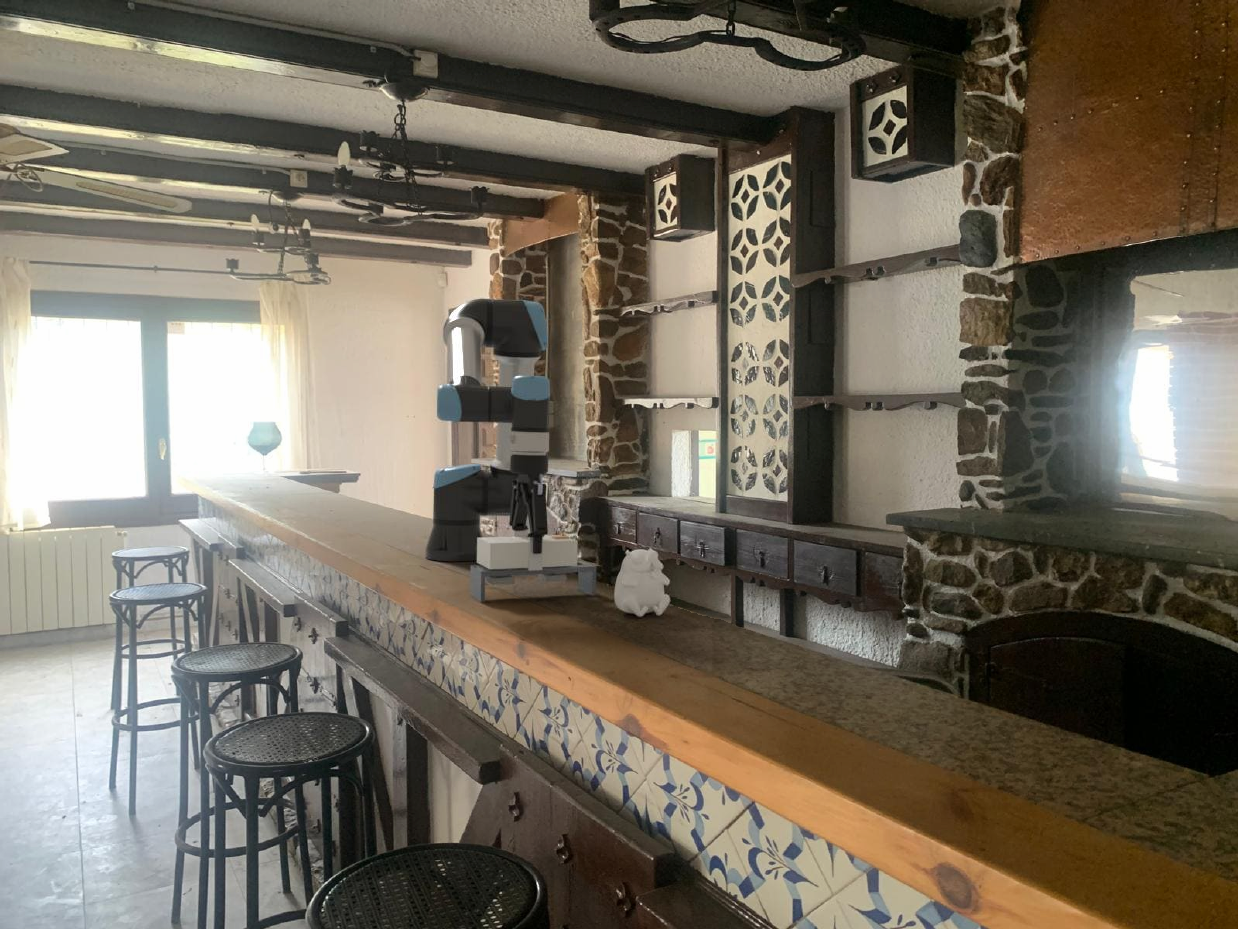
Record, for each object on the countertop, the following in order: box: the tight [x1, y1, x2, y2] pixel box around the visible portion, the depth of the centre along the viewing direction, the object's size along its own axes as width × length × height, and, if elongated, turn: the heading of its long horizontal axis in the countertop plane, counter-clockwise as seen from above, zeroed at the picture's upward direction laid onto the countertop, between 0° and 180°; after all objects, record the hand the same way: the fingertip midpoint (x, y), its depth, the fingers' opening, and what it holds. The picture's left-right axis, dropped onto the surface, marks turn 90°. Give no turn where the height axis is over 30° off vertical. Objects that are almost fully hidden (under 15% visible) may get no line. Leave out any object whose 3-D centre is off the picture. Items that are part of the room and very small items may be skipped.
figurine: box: [613, 547, 671, 618], centre depth 171 cm, size 10×10×12 cm
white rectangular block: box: [476, 534, 579, 586], centre depth 185 cm, size 9×18×9 cm, turn 115°
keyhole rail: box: [469, 560, 597, 603], centre depth 186 cm, size 8×24×6 cm, turn 115°
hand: (526, 566), depth 185 cm, fingers closed on white rectangular block, 9 cm apart
